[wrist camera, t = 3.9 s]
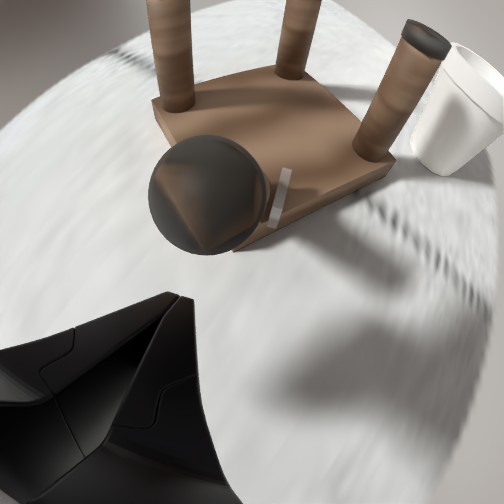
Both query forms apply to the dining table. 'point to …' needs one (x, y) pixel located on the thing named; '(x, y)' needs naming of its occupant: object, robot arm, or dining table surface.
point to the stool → (290, 110)
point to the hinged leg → (207, 194)
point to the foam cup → (459, 112)
